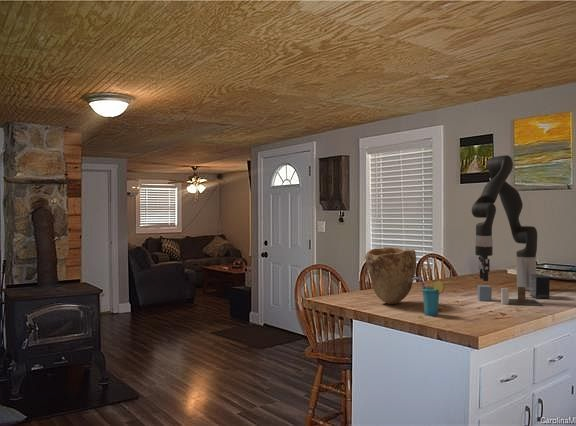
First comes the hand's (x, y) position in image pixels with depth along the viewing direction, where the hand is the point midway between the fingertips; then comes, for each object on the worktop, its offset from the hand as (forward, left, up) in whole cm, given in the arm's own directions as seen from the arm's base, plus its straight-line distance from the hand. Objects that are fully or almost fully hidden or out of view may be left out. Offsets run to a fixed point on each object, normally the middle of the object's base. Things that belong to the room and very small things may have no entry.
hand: (483, 279), depth 237 cm
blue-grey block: (0, 0, -9) cm, 9 cm away
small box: (-11, +27, -10) cm, 31 cm away
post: (+9, +7, -9) cm, 15 cm away
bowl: (+15, -43, -10) cm, 46 cm away
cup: (+37, -28, -10) cm, 47 cm away
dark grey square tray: (+5, +15, -9) cm, 19 cm away
